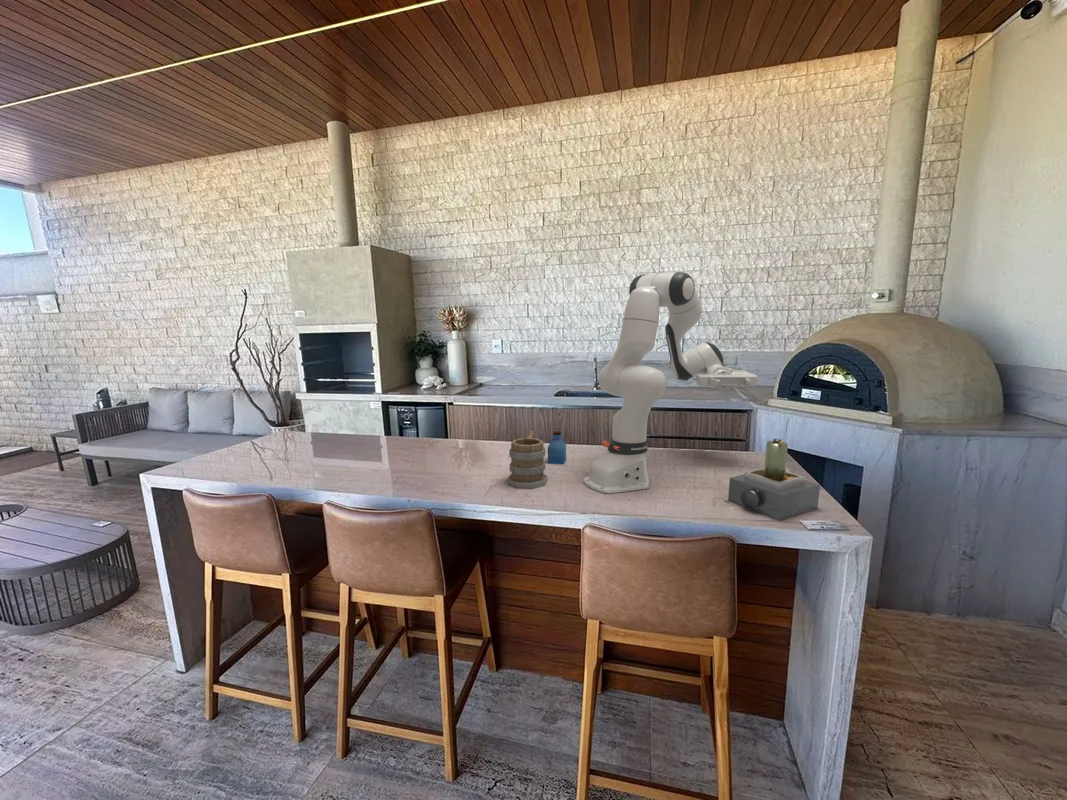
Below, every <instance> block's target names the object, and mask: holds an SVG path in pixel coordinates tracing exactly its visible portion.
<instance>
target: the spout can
mask: <svg viewBox="0 0 1067 800" xmlns="http://www.w3.org/2000/svg"><path fill="white" fill-rule="evenodd" d="M788 446H789V444H788V443H787V442H785V441H784V440H783V439H780V438H773V439H772V440H767V441H766V447H765V461H764V467H765V470H764V477H766V478H769V479H772V480H775V481H779V482H780V481H784V480H785V471H786V467H787V458H788V457H787V456H788V449H789V448H788Z"/></svg>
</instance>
